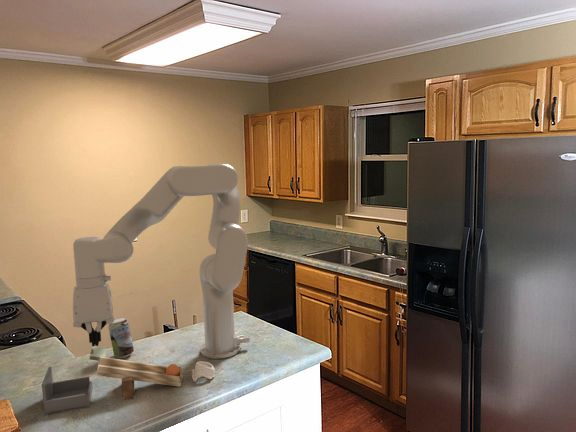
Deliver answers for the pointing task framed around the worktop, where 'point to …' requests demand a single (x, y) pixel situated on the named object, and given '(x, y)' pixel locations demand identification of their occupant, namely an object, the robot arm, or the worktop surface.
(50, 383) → the bin
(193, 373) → the grey hollow rounded piece
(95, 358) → the lever
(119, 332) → the beverage can
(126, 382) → the fulcrum
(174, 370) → the ball
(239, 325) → the worktop surface
